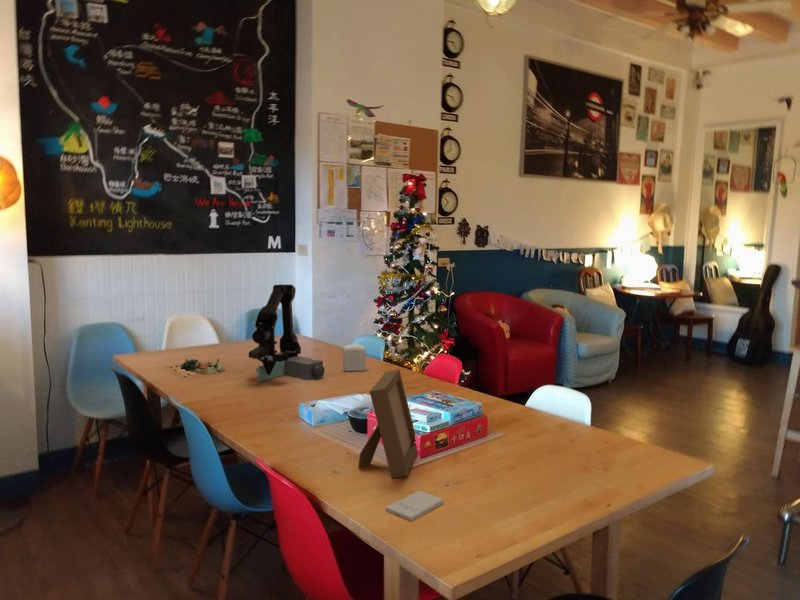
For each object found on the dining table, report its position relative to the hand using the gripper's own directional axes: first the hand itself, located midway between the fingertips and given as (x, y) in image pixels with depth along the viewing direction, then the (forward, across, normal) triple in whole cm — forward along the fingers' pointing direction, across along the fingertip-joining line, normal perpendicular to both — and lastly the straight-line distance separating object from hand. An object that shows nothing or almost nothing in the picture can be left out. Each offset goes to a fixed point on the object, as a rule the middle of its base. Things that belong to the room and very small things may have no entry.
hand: (268, 375), depth 271 cm
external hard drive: (+6, +115, -67) cm, 134 cm away
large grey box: (+3, +7, +16) cm, 17 cm away
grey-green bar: (+3, -3, +4) cm, 6 cm away
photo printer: (+3, +19, +36) cm, 41 cm away
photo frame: (+5, +94, -47) cm, 105 cm away
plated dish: (+3, -42, -1) cm, 42 cm away
